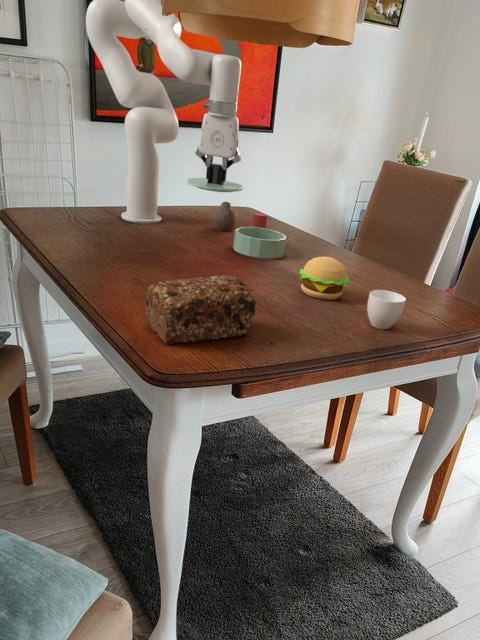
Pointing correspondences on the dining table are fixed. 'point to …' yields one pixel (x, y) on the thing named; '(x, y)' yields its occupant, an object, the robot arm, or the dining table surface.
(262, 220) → the red cylinder
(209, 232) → the dining table surface
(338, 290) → the hamburger
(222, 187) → the lid
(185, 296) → the bread
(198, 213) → the dining table surface
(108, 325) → the dining table surface
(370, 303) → the cup
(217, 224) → the vase
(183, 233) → the dining table surface
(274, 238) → the pot
